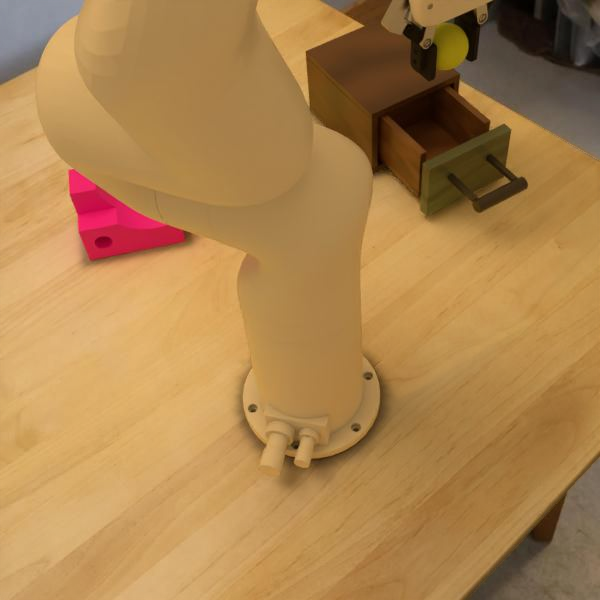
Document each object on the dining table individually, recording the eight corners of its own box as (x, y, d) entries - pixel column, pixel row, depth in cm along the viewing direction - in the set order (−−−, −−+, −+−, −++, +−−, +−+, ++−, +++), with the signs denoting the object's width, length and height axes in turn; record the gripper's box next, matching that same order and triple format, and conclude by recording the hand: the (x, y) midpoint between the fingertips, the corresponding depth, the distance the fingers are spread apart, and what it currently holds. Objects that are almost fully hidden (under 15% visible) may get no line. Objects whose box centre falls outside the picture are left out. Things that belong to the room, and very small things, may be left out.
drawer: (538, 208, 90) (549, 160, 85) (459, 250, 88) (464, 203, 82) (435, 116, 100) (438, 68, 95) (361, 151, 98) (360, 103, 92)
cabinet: (454, 134, 100) (460, 73, 93) (372, 174, 97) (371, 114, 90) (388, 75, 107) (389, 15, 100) (309, 110, 104) (305, 50, 97)
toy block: (90, 260, 91) (70, 211, 86) (87, 219, 95) (68, 169, 89) (227, 233, 92) (217, 183, 87) (219, 193, 96) (209, 142, 90)
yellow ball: (463, 81, 83) (467, 43, 79) (418, 77, 84) (420, 39, 80) (469, 53, 85) (473, 15, 82) (425, 49, 86) (427, 11, 83)
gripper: (398, -68, 66) (395, 117, 80) (568, -136, 70) (535, 51, 84) (345, -106, 70) (351, 76, 84) (508, -168, 74) (487, 15, 89)
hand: (443, 62), depth 84 cm, fingers closed on yellow ball, 4 cm apart
